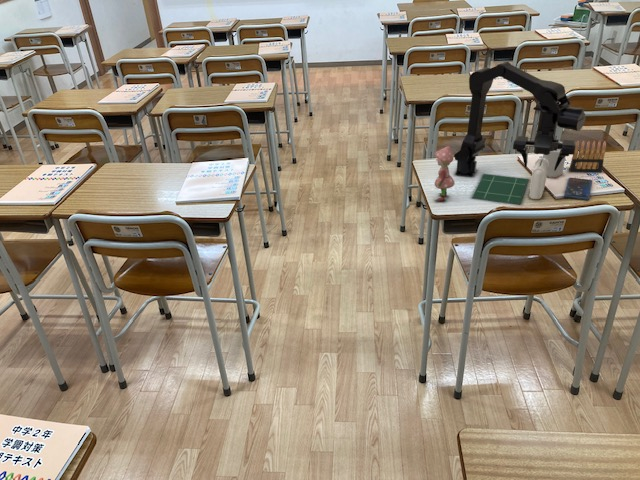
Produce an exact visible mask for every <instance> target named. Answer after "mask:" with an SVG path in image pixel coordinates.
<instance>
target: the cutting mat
mask: <svg viewBox="0 0 640 480" xmlns="http://www.w3.org/2000/svg"><path fill="white" fill-rule="evenodd" d="M528 182H529V178H522V177H515V176H507V175H506V176H504V175H498V174H497V175H495V174H487V173H484V174H483V175H482V177H481V179H480V181H479V183H478V185H477V187H476V189H475V191H474V193H473V195H472V197H471V198H472V199H475V200H483V201H490V202H498V203H506V204H512V205H521V203H522V200H523V198H524V195H525V191H526V188H527V185H528Z"/></svg>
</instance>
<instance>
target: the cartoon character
mask: <svg viewBox="0 0 640 480" xmlns="http://www.w3.org/2000/svg"><path fill="white" fill-rule="evenodd" d="M434 156H435V157H436V162H437V165H438V166H441V167H440V168H439V170H438V172H437V173H438V176H437V178H436V179H435V181H434V187H435V188H436V189H439V190H440V192H439V195H440V197H439V198H436V201H437V202H444V201H445V200H446V197H447V196H448V193H447V191H448V189H451V188H453V187H454V186H455V179H453V177H452V175H450V169H449V166H450V164H451V163H452V162H453V161H454V154H453V150H452V149H451V147H450V146H449V145H446V146H445V147H443V148H441V149H439V150H436V152H435V153H434Z"/></svg>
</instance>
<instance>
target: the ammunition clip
mask: <svg viewBox="0 0 640 480" xmlns="http://www.w3.org/2000/svg"><path fill="white" fill-rule="evenodd" d="M585 143H586V145H585ZM601 144H602V145H601ZM606 148H607V141H606V140H604V141H603V143H602V142H601V140H598V142H597V144H596V140H593V142H592V143H591V141H590V140H587V142H585V140H582V141H581V144H580V141H579V140H577V141H576V147H575V152H574V154H573V155H572V157H571V161H570V164H569V169H568V170H569V172H570V173H602V172H603V166H604V161H605V155H606Z"/></svg>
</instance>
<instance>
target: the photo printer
mask: <svg viewBox="0 0 640 480" xmlns="http://www.w3.org/2000/svg"><path fill="white" fill-rule="evenodd" d="M547 169H548V161H547V159H546V158H543V157H539V158H538V159H537V160H535V162H534V165H533V168H532V172H531V180H530V186H529V192H528V193H529V194H528V195H529V198H530V199H531V200H540V199H541V198H542V197H543V194H544V191H545V187H546V180H547V177H546V175H547Z"/></svg>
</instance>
